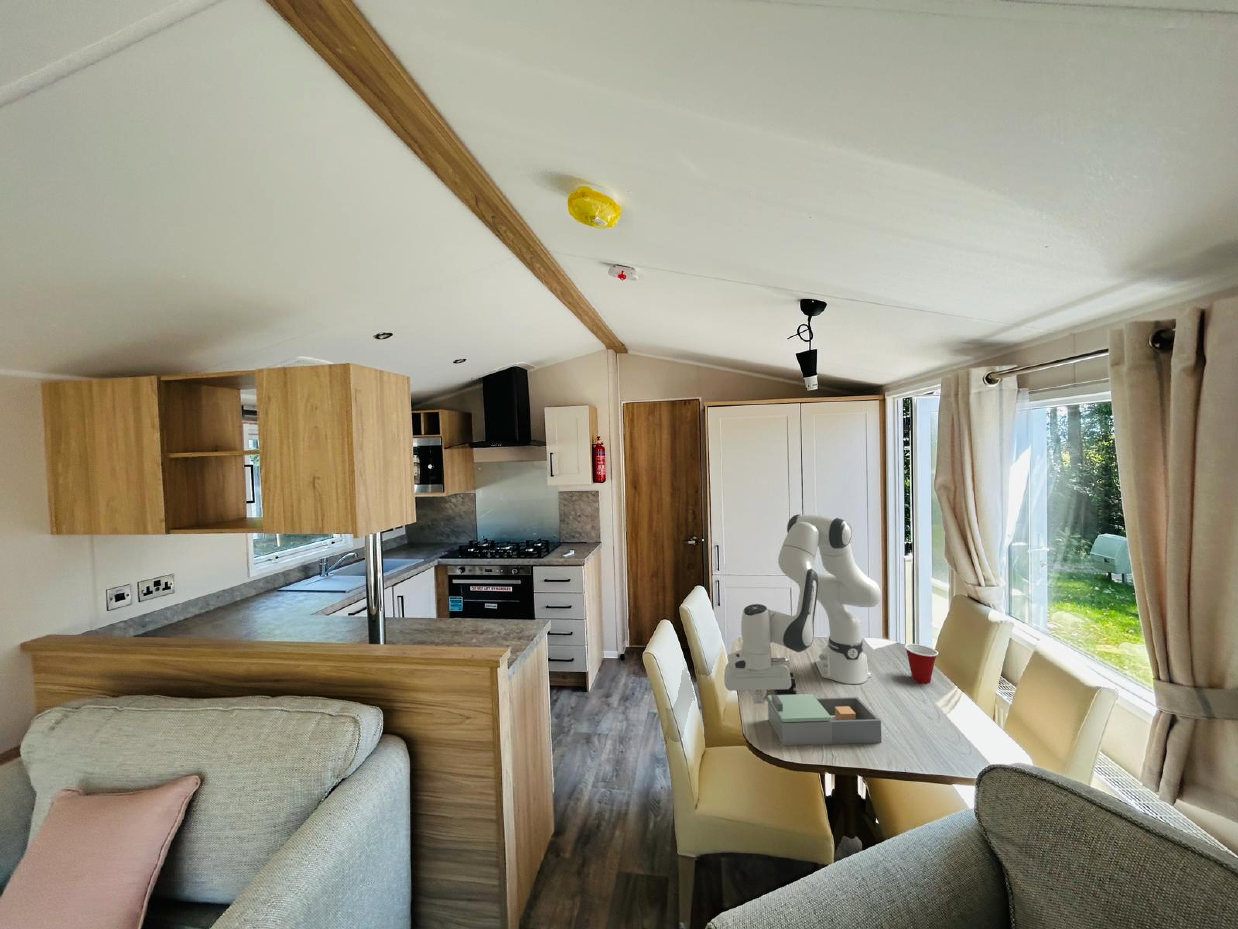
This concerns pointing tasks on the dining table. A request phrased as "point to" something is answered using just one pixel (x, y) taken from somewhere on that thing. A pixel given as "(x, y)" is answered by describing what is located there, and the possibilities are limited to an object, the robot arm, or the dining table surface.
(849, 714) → the jaw block
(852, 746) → the dining table surface
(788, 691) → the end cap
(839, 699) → the box
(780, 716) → the lid
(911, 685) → the dining table surface
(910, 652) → the plastic cup
